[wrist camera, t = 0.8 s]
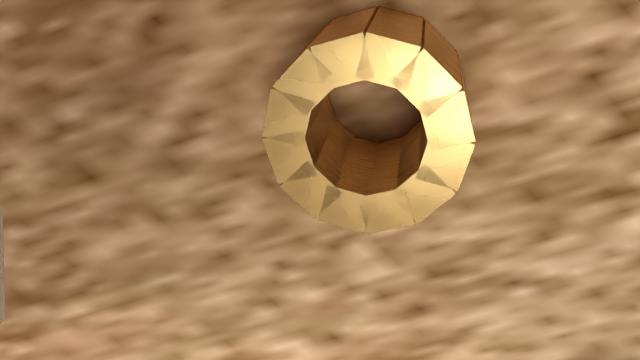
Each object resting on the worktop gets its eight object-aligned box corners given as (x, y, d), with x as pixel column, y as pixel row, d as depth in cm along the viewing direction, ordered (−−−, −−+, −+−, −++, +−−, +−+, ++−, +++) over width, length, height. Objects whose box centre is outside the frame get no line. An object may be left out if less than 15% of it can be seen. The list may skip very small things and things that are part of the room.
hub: (281, 148, 31) (249, 200, 25) (315, -11, 27) (286, 10, 22) (434, 190, 30) (434, 253, 25) (488, 35, 27) (503, 68, 21)
